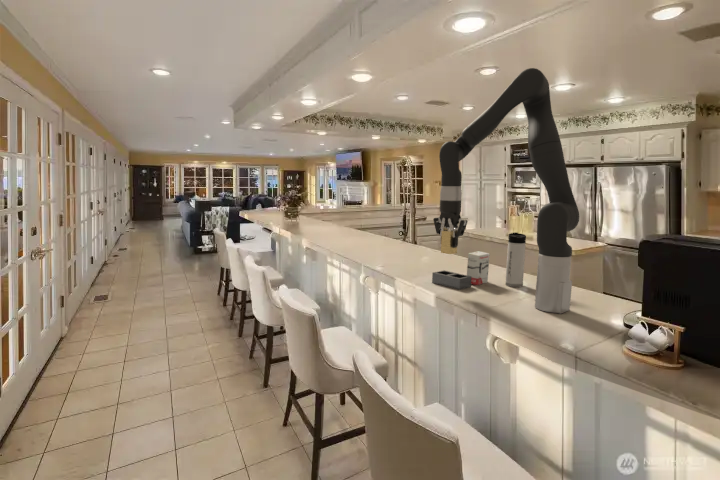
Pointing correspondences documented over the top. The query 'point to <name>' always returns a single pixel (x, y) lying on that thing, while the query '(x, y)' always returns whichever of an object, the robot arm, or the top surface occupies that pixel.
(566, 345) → the top surface
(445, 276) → the grey hollow block
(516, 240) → the travel mug
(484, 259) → the ink box
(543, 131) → the robot arm
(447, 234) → the tan wooden block
